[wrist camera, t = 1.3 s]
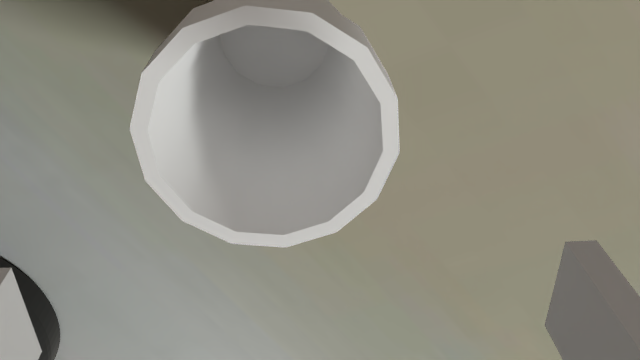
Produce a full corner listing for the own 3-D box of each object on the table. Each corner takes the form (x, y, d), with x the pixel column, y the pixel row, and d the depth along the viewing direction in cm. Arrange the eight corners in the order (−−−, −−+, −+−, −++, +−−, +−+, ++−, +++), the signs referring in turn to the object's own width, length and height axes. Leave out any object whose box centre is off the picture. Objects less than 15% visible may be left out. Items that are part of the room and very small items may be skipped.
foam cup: (228, 130, 35) (199, 273, 24) (156, -23, 30) (77, 65, 19) (382, 79, 33) (428, 204, 22) (332, -89, 29) (358, -36, 18)
